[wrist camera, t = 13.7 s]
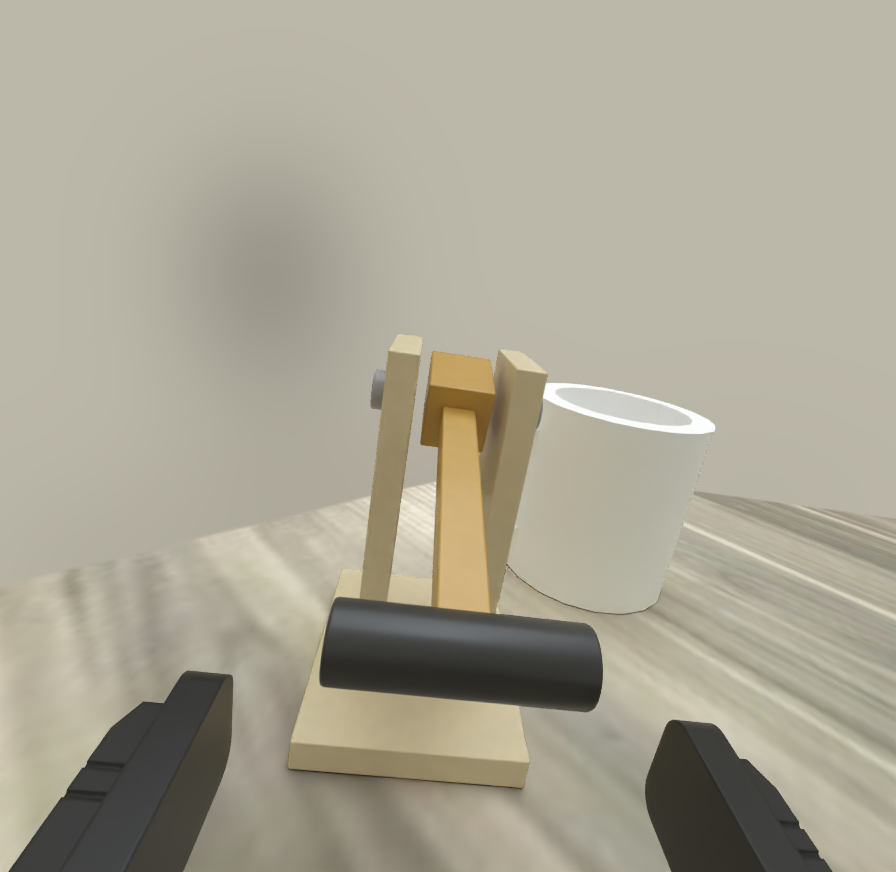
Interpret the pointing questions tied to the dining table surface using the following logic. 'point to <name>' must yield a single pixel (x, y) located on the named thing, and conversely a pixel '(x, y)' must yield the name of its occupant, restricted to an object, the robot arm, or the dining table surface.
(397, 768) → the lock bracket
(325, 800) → the dining table surface
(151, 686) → the dining table surface
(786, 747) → the dining table surface
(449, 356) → the lever
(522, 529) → the mug
